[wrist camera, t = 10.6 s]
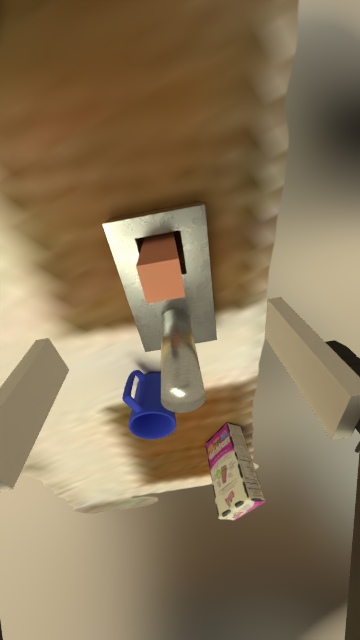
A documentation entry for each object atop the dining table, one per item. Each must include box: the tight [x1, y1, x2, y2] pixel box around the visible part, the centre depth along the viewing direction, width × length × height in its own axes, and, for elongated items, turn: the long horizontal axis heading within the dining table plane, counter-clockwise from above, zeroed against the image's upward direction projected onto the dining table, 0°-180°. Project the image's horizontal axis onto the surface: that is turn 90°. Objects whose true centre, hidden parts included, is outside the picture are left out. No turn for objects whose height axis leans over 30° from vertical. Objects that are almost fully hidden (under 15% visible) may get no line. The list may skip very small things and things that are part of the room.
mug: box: [123, 370, 176, 439], centre depth 41 cm, size 8×12×10 cm
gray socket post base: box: [103, 202, 217, 413], centre depth 26 cm, size 20×12×18 cm, turn 9°
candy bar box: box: [205, 423, 265, 520], centre depth 52 cm, size 11×5×16 cm, turn 153°
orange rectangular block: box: [136, 232, 185, 304], centre depth 26 cm, size 4×4×12 cm
